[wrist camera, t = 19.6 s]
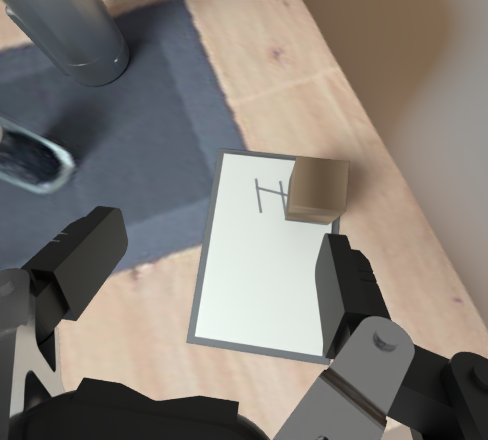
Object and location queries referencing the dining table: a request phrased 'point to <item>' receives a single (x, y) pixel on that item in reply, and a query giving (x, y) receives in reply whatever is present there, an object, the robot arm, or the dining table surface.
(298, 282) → the board
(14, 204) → the dining table surface
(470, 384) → the robot arm
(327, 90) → the dining table surface
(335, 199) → the block
